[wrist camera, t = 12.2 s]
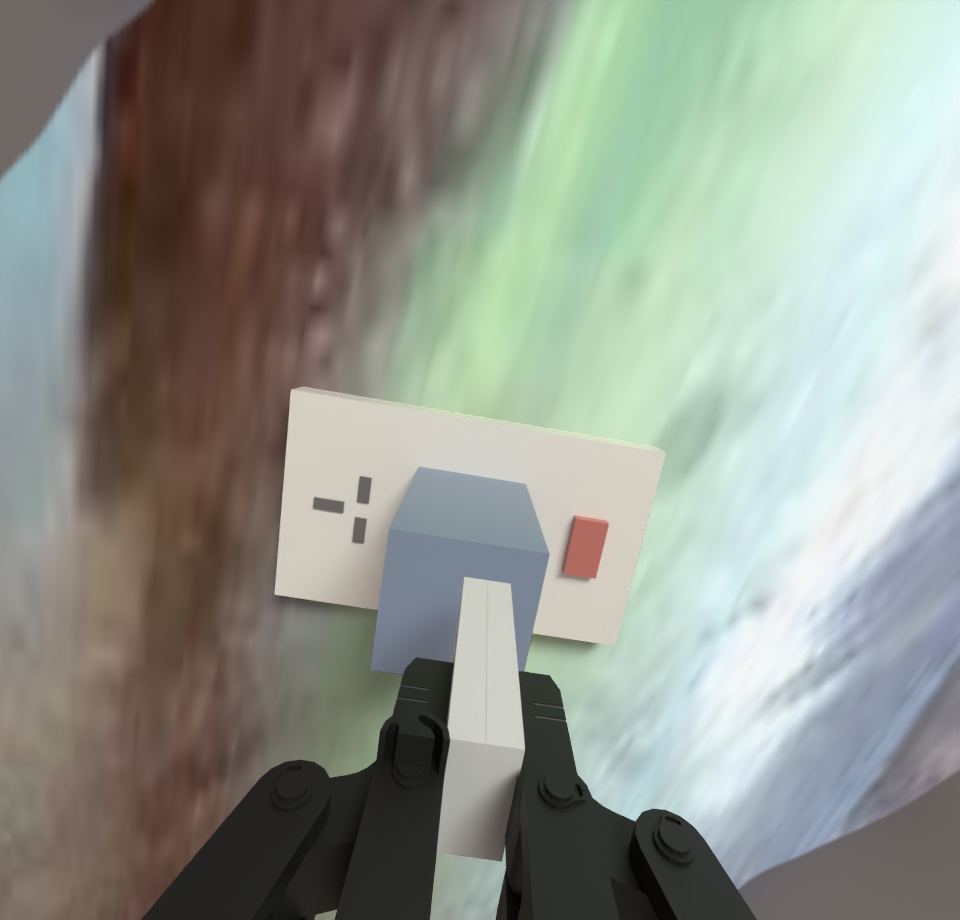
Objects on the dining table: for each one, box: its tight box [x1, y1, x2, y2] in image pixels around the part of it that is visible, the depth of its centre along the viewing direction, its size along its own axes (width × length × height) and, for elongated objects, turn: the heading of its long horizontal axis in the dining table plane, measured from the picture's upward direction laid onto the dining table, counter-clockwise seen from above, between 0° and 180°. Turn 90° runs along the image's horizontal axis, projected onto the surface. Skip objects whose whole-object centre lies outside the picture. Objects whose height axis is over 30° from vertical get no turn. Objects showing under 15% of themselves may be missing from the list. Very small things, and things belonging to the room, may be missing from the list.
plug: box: [370, 466, 550, 675], centre depth 26 cm, size 6×6×12 cm
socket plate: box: [275, 387, 666, 646], centre depth 30 cm, size 22×13×3 cm, turn 80°
